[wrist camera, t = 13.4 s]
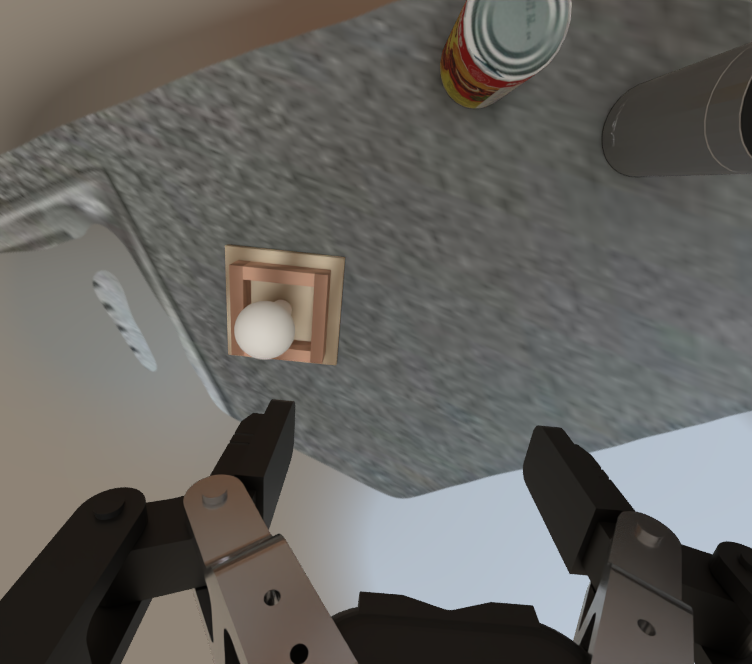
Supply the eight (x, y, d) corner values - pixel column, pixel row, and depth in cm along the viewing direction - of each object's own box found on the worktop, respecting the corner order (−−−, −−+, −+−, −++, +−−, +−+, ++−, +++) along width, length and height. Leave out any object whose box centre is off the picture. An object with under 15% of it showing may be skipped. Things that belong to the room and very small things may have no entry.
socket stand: (345, 257, 47) (342, 263, 43) (336, 361, 52) (333, 375, 48) (228, 244, 46) (214, 249, 43) (231, 351, 51) (219, 364, 48)
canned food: (482, -3, 38) (526, -81, 27) (533, 63, 40) (593, 16, 28) (423, 66, 40) (441, 20, 29) (474, 126, 42) (509, 105, 31)
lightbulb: (248, 300, 48) (211, 331, 37) (288, 273, 47) (261, 299, 36) (278, 339, 50) (251, 379, 39) (317, 314, 48) (300, 350, 38)
